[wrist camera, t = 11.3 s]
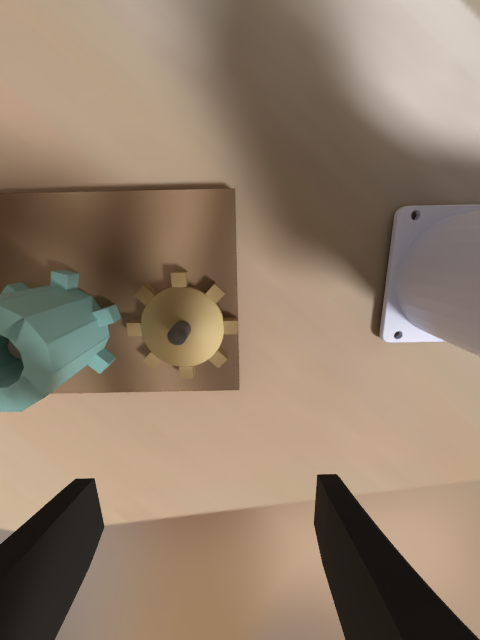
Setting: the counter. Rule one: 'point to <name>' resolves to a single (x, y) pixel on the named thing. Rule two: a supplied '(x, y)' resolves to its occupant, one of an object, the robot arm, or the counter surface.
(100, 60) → the counter surface
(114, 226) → the gear board
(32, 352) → the gear
